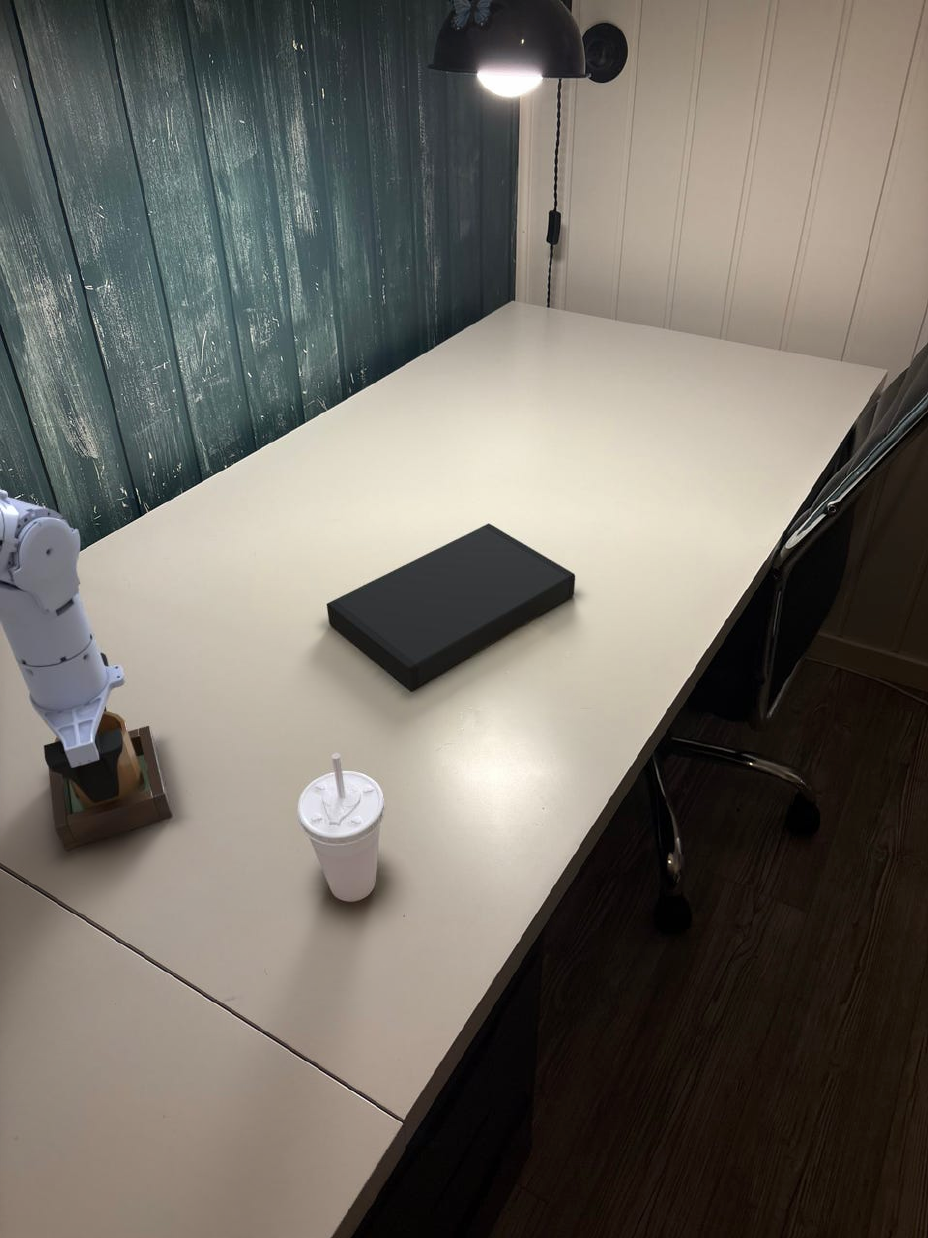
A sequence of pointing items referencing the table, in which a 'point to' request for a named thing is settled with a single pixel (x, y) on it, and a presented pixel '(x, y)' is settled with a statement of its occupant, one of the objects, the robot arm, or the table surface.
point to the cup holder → (114, 815)
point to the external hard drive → (449, 604)
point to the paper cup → (127, 764)
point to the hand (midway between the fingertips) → (100, 764)
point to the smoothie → (344, 829)
